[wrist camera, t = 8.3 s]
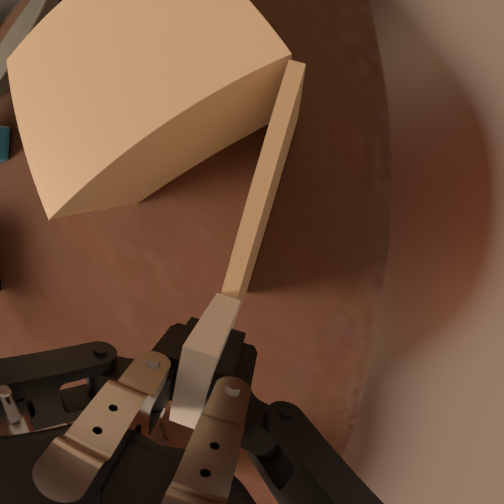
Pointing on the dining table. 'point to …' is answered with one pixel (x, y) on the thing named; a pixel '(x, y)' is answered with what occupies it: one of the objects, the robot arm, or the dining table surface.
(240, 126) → the carton
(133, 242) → the dining table surface
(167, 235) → the dining table surface
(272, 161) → the beige wooden slab
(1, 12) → the cake pan
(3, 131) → the data package
